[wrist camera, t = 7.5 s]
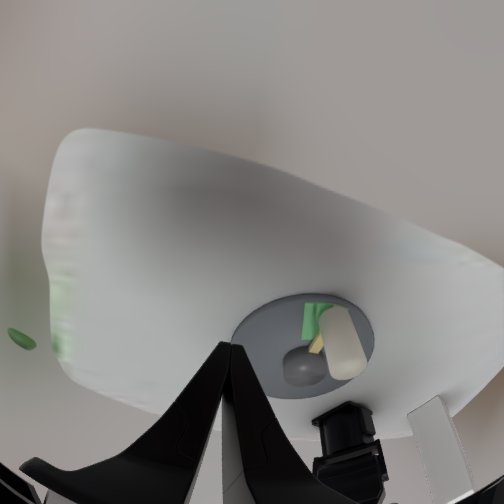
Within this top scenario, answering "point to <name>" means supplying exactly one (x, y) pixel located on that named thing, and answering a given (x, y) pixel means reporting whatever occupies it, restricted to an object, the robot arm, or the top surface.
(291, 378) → the peg
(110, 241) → the top surface
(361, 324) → the grey round disc
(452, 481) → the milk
